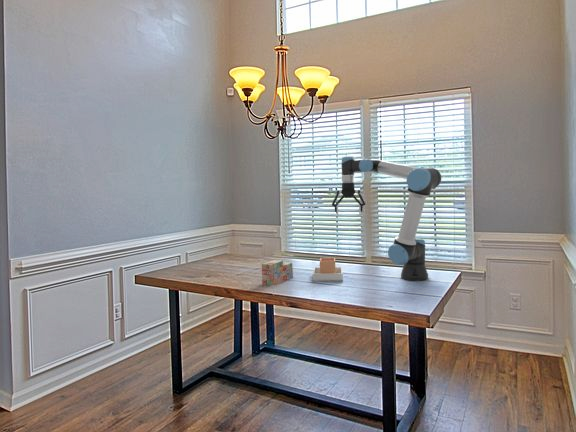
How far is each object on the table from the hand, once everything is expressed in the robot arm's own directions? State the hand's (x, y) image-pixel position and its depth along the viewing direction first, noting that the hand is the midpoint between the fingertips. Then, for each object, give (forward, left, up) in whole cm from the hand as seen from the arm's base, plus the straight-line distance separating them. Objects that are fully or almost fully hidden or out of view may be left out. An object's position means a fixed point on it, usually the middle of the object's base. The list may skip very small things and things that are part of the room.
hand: (348, 217), depth 253 cm
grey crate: (+18, +2, -35) cm, 39 cm away
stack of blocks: (+45, -10, -35) cm, 58 cm away
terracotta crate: (+18, +2, -34) cm, 38 cm away
